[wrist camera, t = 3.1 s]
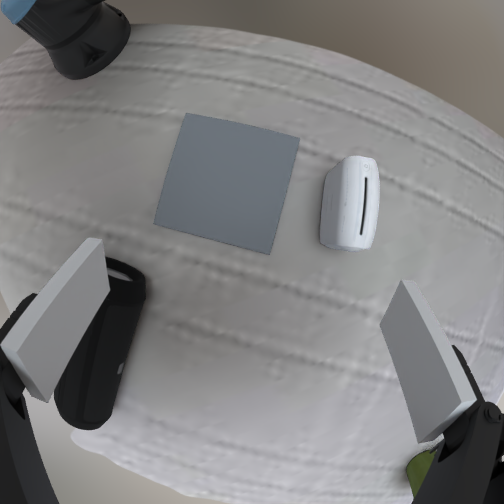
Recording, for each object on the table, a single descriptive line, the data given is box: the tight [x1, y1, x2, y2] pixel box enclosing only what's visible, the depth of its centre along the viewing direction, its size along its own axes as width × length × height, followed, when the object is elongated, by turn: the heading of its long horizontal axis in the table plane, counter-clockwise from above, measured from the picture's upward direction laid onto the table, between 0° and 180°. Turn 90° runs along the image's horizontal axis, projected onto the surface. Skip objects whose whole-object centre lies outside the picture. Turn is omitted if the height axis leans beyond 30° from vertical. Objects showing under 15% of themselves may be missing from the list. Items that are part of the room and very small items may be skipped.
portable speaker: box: [54, 257, 146, 430], centre depth 37 cm, size 26×10×10 cm, turn 157°
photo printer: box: [320, 156, 380, 252], centre depth 34 cm, size 10×4×12 cm, turn 174°
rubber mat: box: [153, 113, 300, 255], centre depth 39 cm, size 16×16×1 cm
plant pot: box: [406, 450, 436, 500], centre depth 36 cm, size 12×12×11 cm
